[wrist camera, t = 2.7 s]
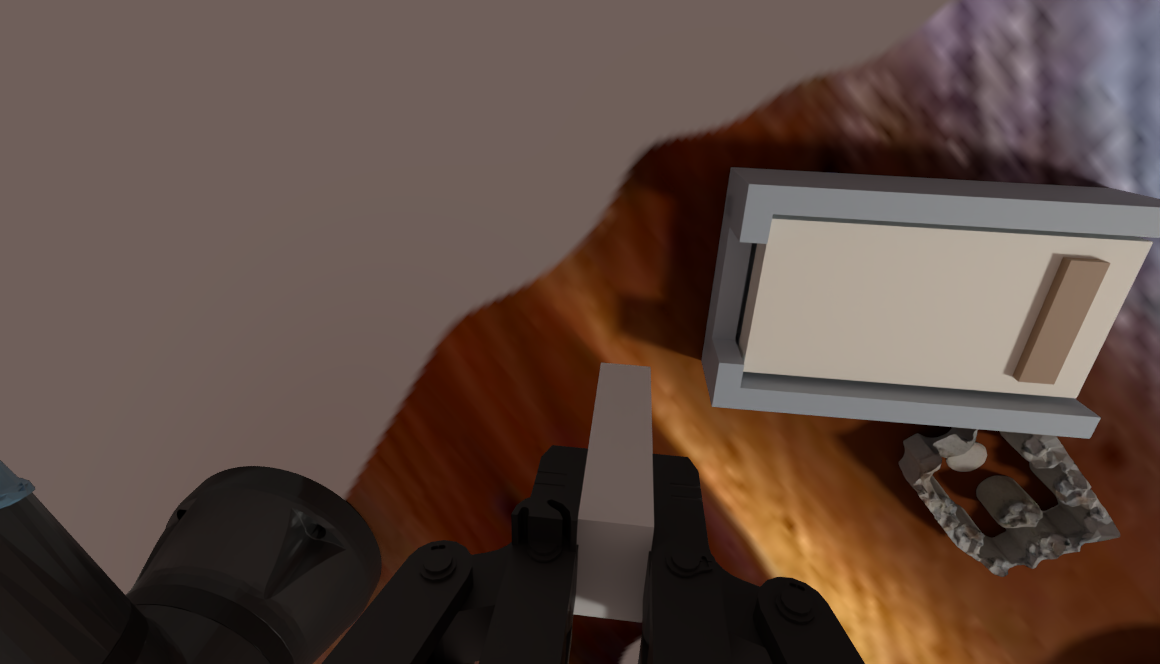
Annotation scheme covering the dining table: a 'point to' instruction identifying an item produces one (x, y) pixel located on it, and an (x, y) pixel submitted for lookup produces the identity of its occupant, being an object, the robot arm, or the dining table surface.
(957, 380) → the lid
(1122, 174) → the dining table surface
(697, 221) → the dining table surface
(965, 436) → the egg carton
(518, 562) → the robot arm
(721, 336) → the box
